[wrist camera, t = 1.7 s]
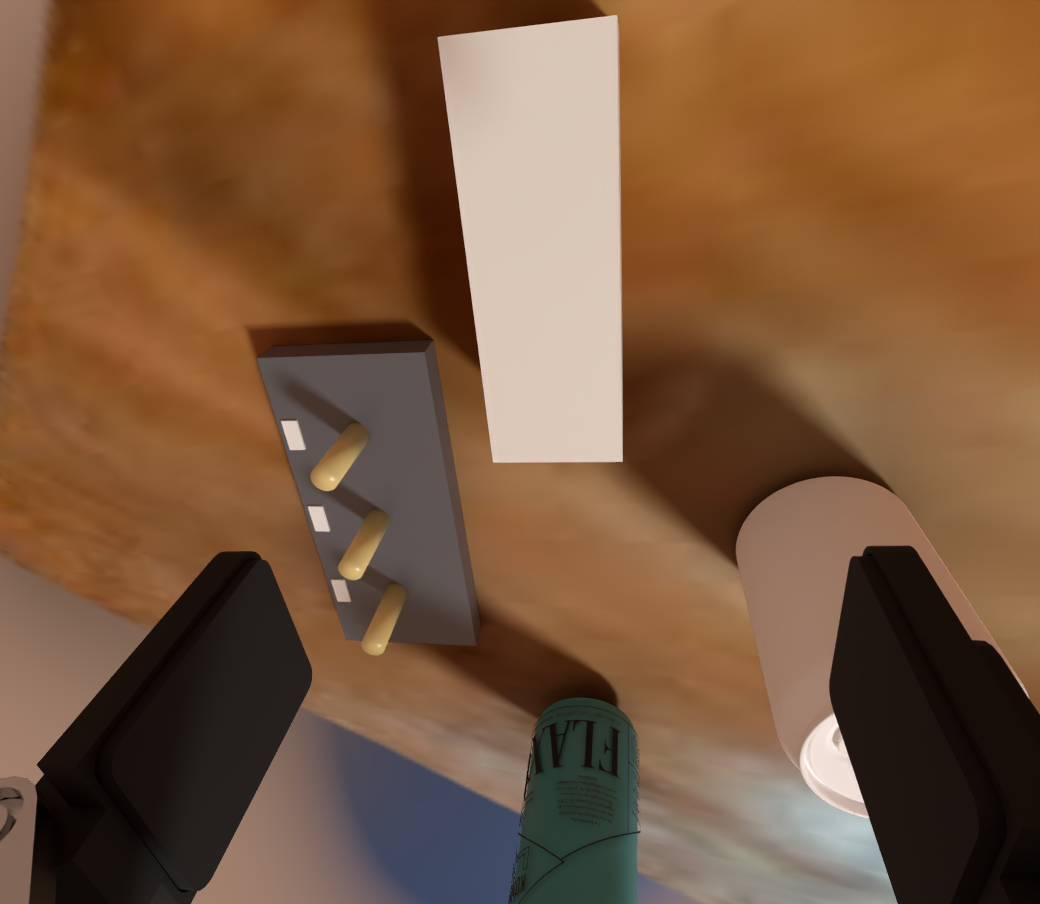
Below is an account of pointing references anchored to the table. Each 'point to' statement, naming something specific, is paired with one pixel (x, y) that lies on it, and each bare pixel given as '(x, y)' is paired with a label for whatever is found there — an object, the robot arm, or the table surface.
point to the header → (378, 487)
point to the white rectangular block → (542, 231)
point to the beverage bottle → (580, 808)
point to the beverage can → (822, 609)
